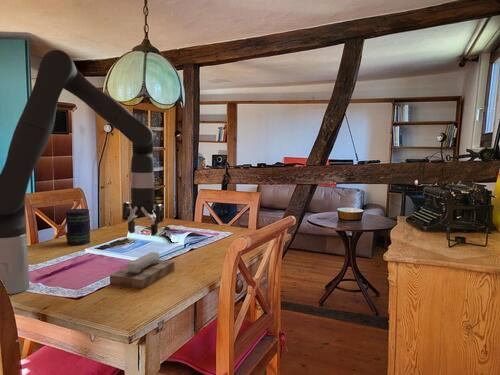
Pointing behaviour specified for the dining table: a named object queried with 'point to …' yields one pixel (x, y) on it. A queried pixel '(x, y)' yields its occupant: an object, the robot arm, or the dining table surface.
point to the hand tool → (167, 228)
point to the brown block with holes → (142, 275)
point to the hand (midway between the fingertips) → (142, 234)
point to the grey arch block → (142, 263)
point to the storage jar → (77, 227)
